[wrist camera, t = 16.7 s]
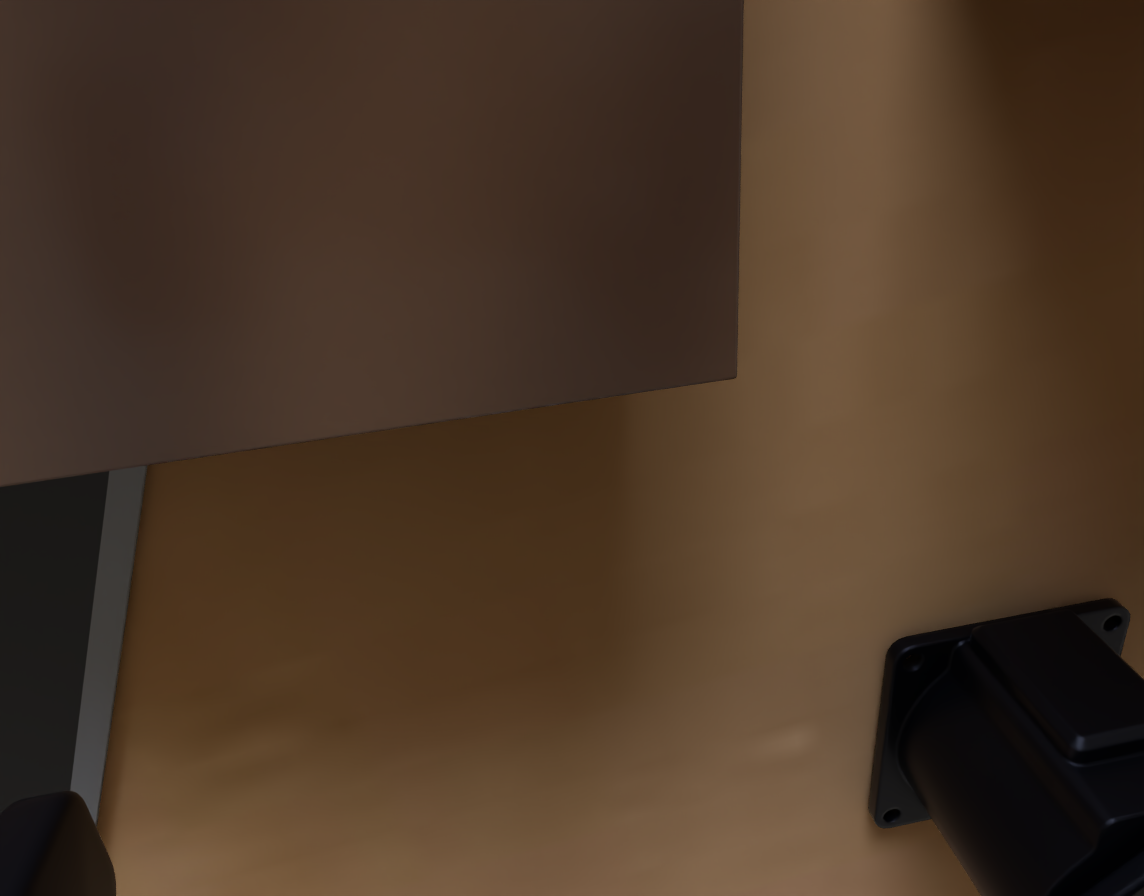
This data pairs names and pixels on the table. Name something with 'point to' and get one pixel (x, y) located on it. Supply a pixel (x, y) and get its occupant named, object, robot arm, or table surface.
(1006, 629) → the robot arm
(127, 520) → the smartphone
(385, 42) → the cabinet
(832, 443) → the table surface
